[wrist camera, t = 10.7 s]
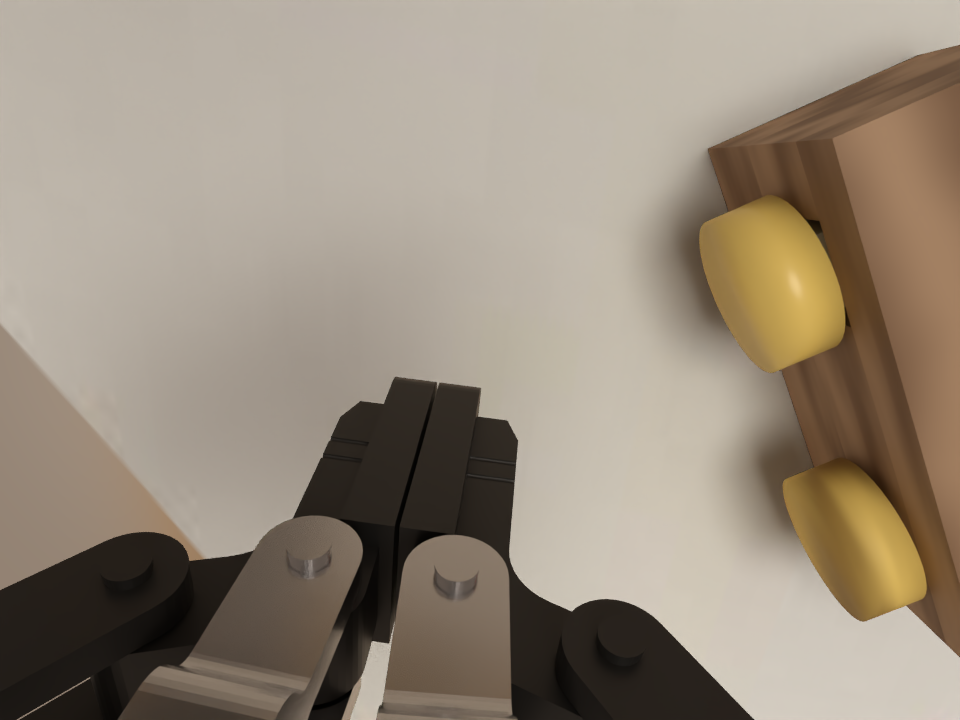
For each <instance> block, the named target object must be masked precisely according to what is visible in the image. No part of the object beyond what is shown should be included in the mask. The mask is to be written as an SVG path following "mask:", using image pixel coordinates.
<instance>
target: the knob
mask: <svg viewBox="0 0 960 720" xmlns="http://www.w3.org/2000/svg"><path fill="white" fill-rule="evenodd" d="M699 246H700V253H701V259H702V263H703V268H704V271H705V275H706V278H707V281H708V284H709V287H710V289H711V292H712V295H713V297H714V299H715V302H716V304H717V306H718V308H719V311H720V313H721V315H722V317H723V319H724V321H725V322H726V324H727V326H728V328H729V330H730V331H731V333H732V335H733V336H734V338H735V339H736V341H737V342H738V344H739V345H740V347H741V348H742V350H743V351H744V352H745V353H746V355H747V356H748V357H749V358H750V359H751V360H752V361H753V362H754V363H755V364H756V365H757V366H758V367H759V368H761V369H762V370H764V371H766V372H769V373H774V372H776V371H779V370H781V369H784V368H786V367H788V366H791V365H793V364H796V363H798V362H800V361H803V360H805V359H807V358H810V357H812V356H815V355H817V354H819V353H822V352H824V351H827V350H829V349H831V348H834V347H836V346H837V345H838V344H839V343H840V342H841V340H842V338H843V335H844V332H845V309H844V307H845V305H844V301H843V298H842V293H841V290H840V286H839V283H838V280H837V277H836V274H835V271H834V268H833V265H832V261H831V258H830V255H829V251H828V248H827V245H826V241H825V238H824V235H823V231H822V228H821V225H820V221H816V220H809V219H804V218H803V216H802V215H801V214H800V213H799V212H798V211H797V210H796V209H795V208H794V207H793V206H792V205H790V204H789V203H788V202H787V201H785V200H783V199H782V198H780V197H777V196H774V195H766V196H764V197H761V198H759V199H757V200H755V201H752V202H750V203H748V204H745V205H743V206H741V207H739V208H736V209H734V210H732V211H729V212H727V213H725V214H723V215H720V216H718V217H716V218H713V219H711V220H709V221H707V222H705V223H704V224H703V225H702V227H701V229H700V234H699Z"/></svg>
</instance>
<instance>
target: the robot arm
mask: <svg viewBox="0 0 960 720" xmlns="http://www.w3.org/2000/svg"><path fill="white" fill-rule="evenodd" d="M480 395H481V388H477V387H469V386H462V385H454V384H447V383H439V386H438V389H437V382H430V381H423V380H415V379H408V378H400V377H395V378H394V380H393V382H392V384H391V387H390V390H389V392H388V395H387V397H386V400H385V403H384V404H378V403H371V402H363V401H360V402H359V403H358V404H356V405H355V406H354V407H352V408H351V409H350V410H349V411H347V412H346V413H345V414H344V415H342V416H341V417H340V419H339V421H338V423H337V425H336V427H335V430H334V432H333V434H332V436H331V441H329V442H328V444H327V447H326V449H325V451H324V453H323V458H321V459H320V461H319V464H318V466H317V468H316V470H315V472H314V474H313V476H312V479H311V481H310V483H309V485H308V487H307V489H306V491H305V493H304V496H303V498H302V500H301V502H300V504H299V506H298V508H297V510H296V513H295V515H294V517H293V519H291V520H288V521H285V522H283V523H281V524H279V525H277V526H276V527H274V528H273V529H271V530H270V531H269V532H268V533H267V534H266V535H265V536H264V537H263V538H262V539H261V541H260V542H259V544H258V545H257V547H256V548H255V550H253V551H251V552H248V553H244V554H240V555H235V556H229V557H220V558H212V559H203V560H195V561H189V558H188V554H187V551H186V550H185V548H184V547H183V545H182V544H181V543H179V542H178V541H177V540H175V539H173V538H172V537H170V536H167V535H164V534H159V533H154V532H139V533H131V534H126V535H122V536H118V537H115V538H112V539H110V540H108V541H105V542H103V543H101V544H98V545H96V546H94V547H92V548H90V549H88V550H86V551H83V552H81V553H79V554H77V555H75V556H73V557H71V558H68V559H66V560H64V561H62V562H60V563H58V564H55V565H54V566H51V567H49V568H47V569H45V570H43V571H40V572H38V573H36V574H34V575H32V576H30V577H28V578H25V579H23V580H21V581H19V582H17V583H15V584H13V585H10V586H8V587H6V588H4V589H2V590H0V720H17V719H18V718H20V717H21V716H23V715H25V714H27V713H29V712H30V711H32V710H33V709H35V708H37V707H39V706H40V705H42V704H44V703H46V702H47V701H49V700H51V699H52V698H54V697H56V696H58V695H60V694H61V693H63V692H65V691H66V690H68V689H70V688H72V687H73V686H75V685H77V684H78V683H80V682H82V681H84V680H85V679H87V678H89V677H90V679H89V680H87V681H85V682H84V683H82V684H80V685H78V686H77V687H75V688H73V689H72V690H70V691H68V692H66V693H65V694H63V695H61V696H59V697H58V698H56V699H54V700H53V701H51V702H49V703H47V704H46V705H44V706H42V707H41V708H39V709H37V710H35V711H34V712H32V713H30V714H29V715H27V716H25V717H23V718H22V719H20V720H350V718H351V715H352V712H353V709H354V706H355V703H356V701H357V698H358V695H359V691H360V687H361V676H362V673H363V671H364V668H365V664H366V661H367V657H368V653H369V650H370V646H371V642H372V641H376V642H383V643H389V642H390V638H391V634H392V630H393V626H394V631H393V638H392V644H391V651H390V658H389V664H388V671H387V677H386V684H385V691H384V697H383V702H382V705H380V706H379V709H378V713H377V718H376V720H754V719H753V718H752V717H751V716H750V715H749V714H748V713H747V712H746V711H745V710H744V709H743V708H742V707H741V706H740V705H739V704H738V703H737V702H736V701H735V700H734V699H733V698H732V697H731V695H730V694H729V693H728V692H727V691H726V690H725V689H724V688H723V687H722V686H721V685H720V684H719V683H718V682H717V681H716V680H715V679H714V678H713V677H712V676H711V675H710V674H709V673H708V672H707V671H706V670H705V669H704V668H703V667H702V666H701V665H700V664H699V663H698V662H697V660H696V659H695V658H694V657H693V656H692V655H691V654H690V653H689V652H688V651H687V650H686V649H685V648H684V647H683V646H682V645H681V644H680V643H679V642H678V641H677V640H676V639H675V638H674V637H673V636H672V635H671V634H670V633H669V632H668V631H667V630H666V629H665V628H664V627H663V625H662V624H661V623H660V622H658V621H657V620H656V619H655V618H654V617H653V616H652V615H650V614H649V613H647V612H646V611H644V610H642V609H641V608H639V607H637V606H635V605H632V604H629V603H627V602H623V601H618V600H610V599H600V600H594V601H589V602H587V603H584V604H582V605H580V606H579V607H577V608H575V609H574V610H573V611H572V612H571V611H569V610H567V609H564V608H562V607H560V606H558V605H555V604H553V603H551V602H549V601H547V600H545V599H543V598H541V597H539V596H538V595H536V594H535V593H533V592H532V591H530V590H529V589H528V588H527V587H526V586H525V585H524V584H523V583H522V582H521V581H520V579H519V578H518V577H517V575H516V574H515V572H514V570H513V568H512V565H511V562H510V558H509V544H510V532H511V520H512V507H513V495H514V482H515V471H516V459H517V446H518V440H517V438H516V436H515V434H514V432H513V430H512V429H511V427H510V425H509V423H508V421H506V420H499V419H491V418H484V417H478V413H479V404H480ZM394 622H395V625H394Z"/></svg>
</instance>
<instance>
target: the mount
mask: <svg viewBox="0 0 960 720" xmlns="http://www.w3.org/2000/svg"><path fill="white" fill-rule="evenodd" d="M708 151H709V154H710V157H711V160H712V163H713V166H714V169H715V172H716V175H717V178H718V181H719V184H720V187H721V190H722V193H723V196H724V199H725V202H726V205H727V208H728V211H732V210H734V209H736V208H739V207H741V206H743V205H745V204H748V203H750V202H752V201H755V200H757V199H759V198H761V197H764V196H766V195H774V196H777V197H780V198H782V199H783V200H785V201H787V202H788V203H789V204H790V205H792V206H793V207H794V208H795V209H796V210H797V211H798V212H799V213H800V214H801V215H802V216H803V218H804V219H809V220H816V221H820V225H821V228H822V231H823V235H824V238H825V241H826V245H827V248H828V251H829V255H830V258H831V261H832V265H833V268H834V271H835V274H836V277H837V280H838V283H839V286H840V290H841V293H842V298H843V301H844V305H845V307H844V309H845V332H844V335H843V338H842V340H841V342H840V343H839V344H838V345H837V346H836V347H834V348H831V349H829V350H827V351H824V352H822V353H819V354H817V355H815V356H812V357H810V358H807V359H805V360H803V361H800V362H798V363H796V364H793V365H791V366H788V367H786V368H784V369H781V370H782V373H783V376H784V379H785V382H786V385H787V388H788V391H789V394H790V397H791V400H792V403H793V406H794V409H795V412H796V415H797V418H798V421H799V424H800V427H801V430H802V433H803V436H804V439H805V442H806V445H807V448H808V451H809V454H810V457H811V460H812V463H813V466H814V468H811V469H809V470H807V471H804V472H802V473H799V474H797V475H794V476H792V477H789V478H787V479H785V480H784V482H783V495H784V500H785V503H786V507H787V510H788V513H789V516H790V518H791V521H792V523H793V526H794V528H795V530H796V533H797V535H798V537H799V539H800V541H801V543H802V545H803V547H804V549H805V551H806V553H807V555H808V556H809V558H810V560H811V562H812V563H813V565H814V567H815V569H816V570H817V572H818V573H819V575H820V577H821V578H822V580H823V581H824V583H825V584H826V586H827V587H828V588H829V590H830V591H831V593H832V594H833V595H834V597H835V598H836V599H837V600H838V602H839V603H840V604H841V605H842V606H843V607H844V608H845V609H846V611H847V612H849V613H850V614H851V615H852V616H853V617H854V618H856V619H857V620H859V621H862V622H864V621H867V620H870V619H872V618H875V617H878V616H880V615H883V614H885V613H888V612H891V611H893V610H896V609H898V608H901V607H904V606H907V607H908V608H909V609H910V610H911V611H912V612H913V613H914V614H915V615H917V616H918V617H919V618H920V619H921V620H922V621H923V622H924V623H925V624H926V625H927V626H928V627H929V628H930V629H931V630H932V631H933V632H934V633H935V634H936V635H937V636H938V637H939V638H940V639H941V640H942V641H943V642H944V643H945V644H947V645H948V646H949V647H950V648H951V649H952V650H953V651H954V652H955V653H956V654H957V655H958V656H959V657H960V45H958V46H954V47H949V48H945V49H941V50H937V51H933V52H929V53H925V54H921V55H917V56H915V57H913V58H911V59H908V60H906V61H904V62H902V63H899V64H897V65H895V66H893V67H890V68H888V69H886V70H884V71H881V72H879V73H877V74H875V75H873V76H870V77H868V78H866V79H864V80H861V81H859V82H857V83H855V84H852V85H850V86H848V87H846V88H843V89H841V90H839V91H837V92H834V93H832V94H830V95H828V96H825V97H823V98H821V99H819V100H816V101H814V102H812V103H810V104H807V105H805V106H803V107H801V108H799V109H796V110H794V111H792V112H790V113H787V114H785V115H783V116H781V117H778V118H776V119H774V120H772V121H769V122H767V123H765V124H763V125H760V126H758V127H756V128H754V129H751V130H749V131H747V132H745V133H742V134H740V135H738V136H736V137H733V138H731V139H729V140H727V141H724V142H722V143H720V144H718V145H716V146H713V147H711V148H709V149H708Z"/></svg>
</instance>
